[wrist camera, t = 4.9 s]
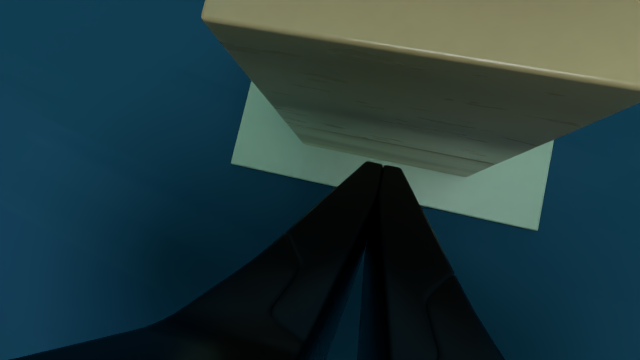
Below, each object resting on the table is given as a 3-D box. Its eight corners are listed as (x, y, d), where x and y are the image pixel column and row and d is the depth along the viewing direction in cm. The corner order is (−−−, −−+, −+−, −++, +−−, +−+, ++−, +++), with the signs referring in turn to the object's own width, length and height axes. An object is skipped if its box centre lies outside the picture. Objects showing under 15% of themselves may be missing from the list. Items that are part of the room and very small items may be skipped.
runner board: (533, 230, 15) (538, 230, 14) (233, 164, 17) (230, 163, 16) (590, -87, 16) (596, -94, 15) (303, -114, 18) (301, -122, 17)
